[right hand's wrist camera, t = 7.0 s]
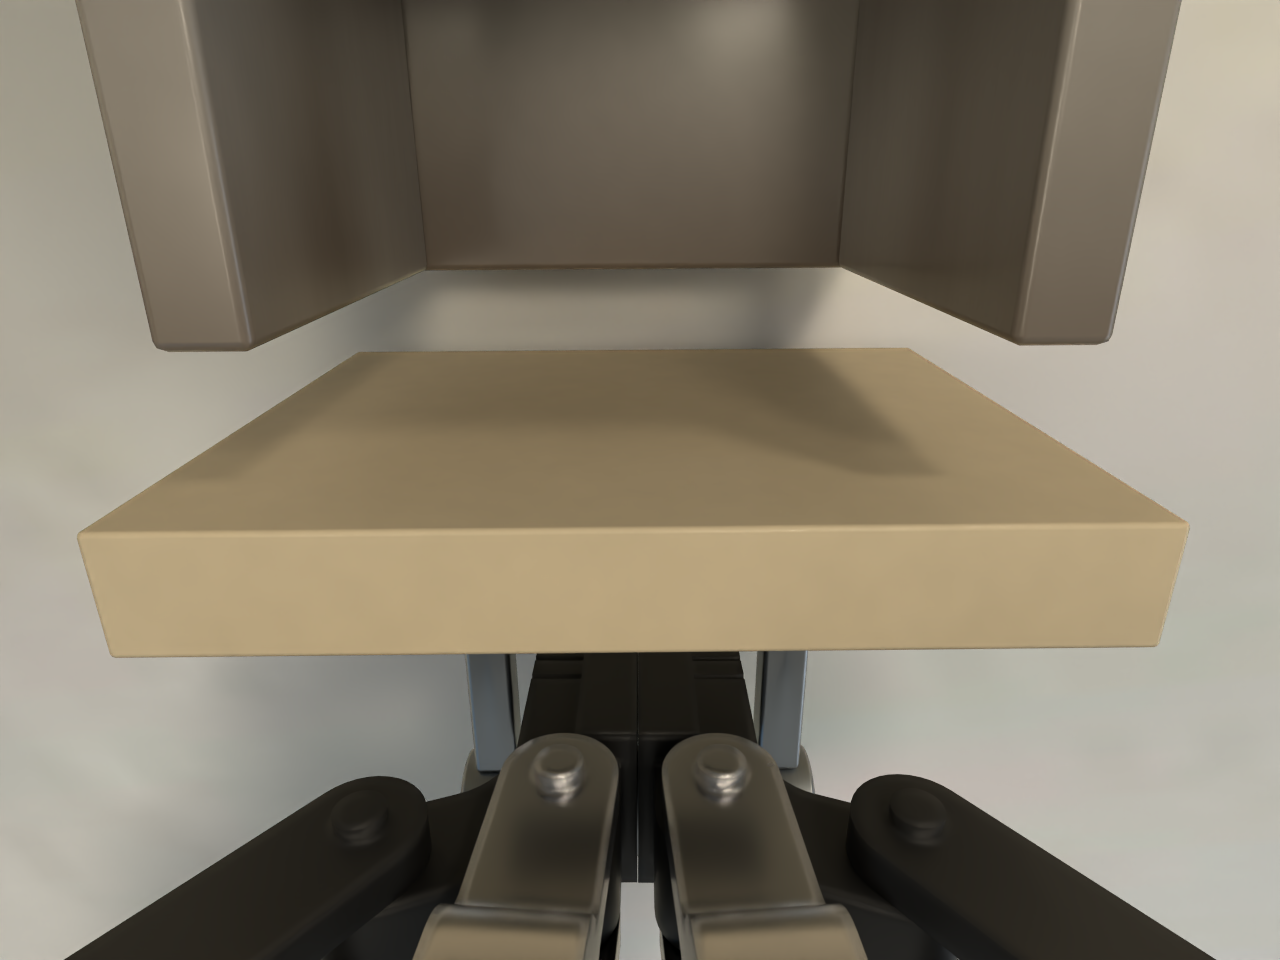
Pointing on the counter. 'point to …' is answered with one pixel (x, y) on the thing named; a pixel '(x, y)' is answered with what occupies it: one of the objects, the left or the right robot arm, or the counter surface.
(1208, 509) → the counter surface
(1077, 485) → the drawer
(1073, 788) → the counter surface
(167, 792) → the counter surface
